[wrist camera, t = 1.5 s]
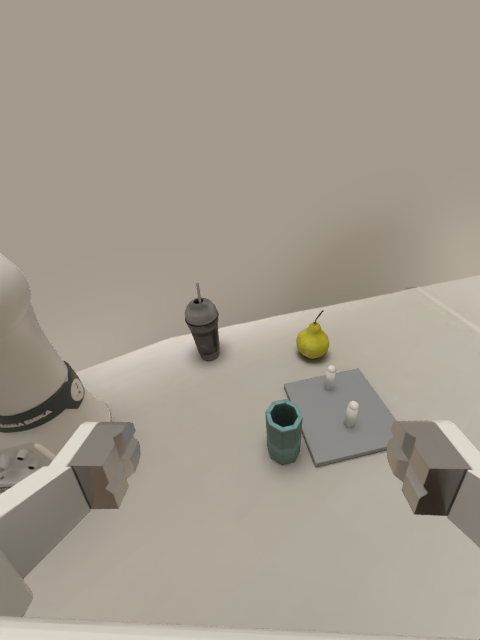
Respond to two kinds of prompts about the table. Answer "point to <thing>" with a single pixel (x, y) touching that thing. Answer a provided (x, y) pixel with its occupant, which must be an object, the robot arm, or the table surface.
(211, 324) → the beverage cup
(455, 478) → the robot arm
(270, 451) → the sleeve
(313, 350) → the fruit
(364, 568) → the table surface
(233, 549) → the table surface
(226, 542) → the table surface
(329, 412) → the pin board
